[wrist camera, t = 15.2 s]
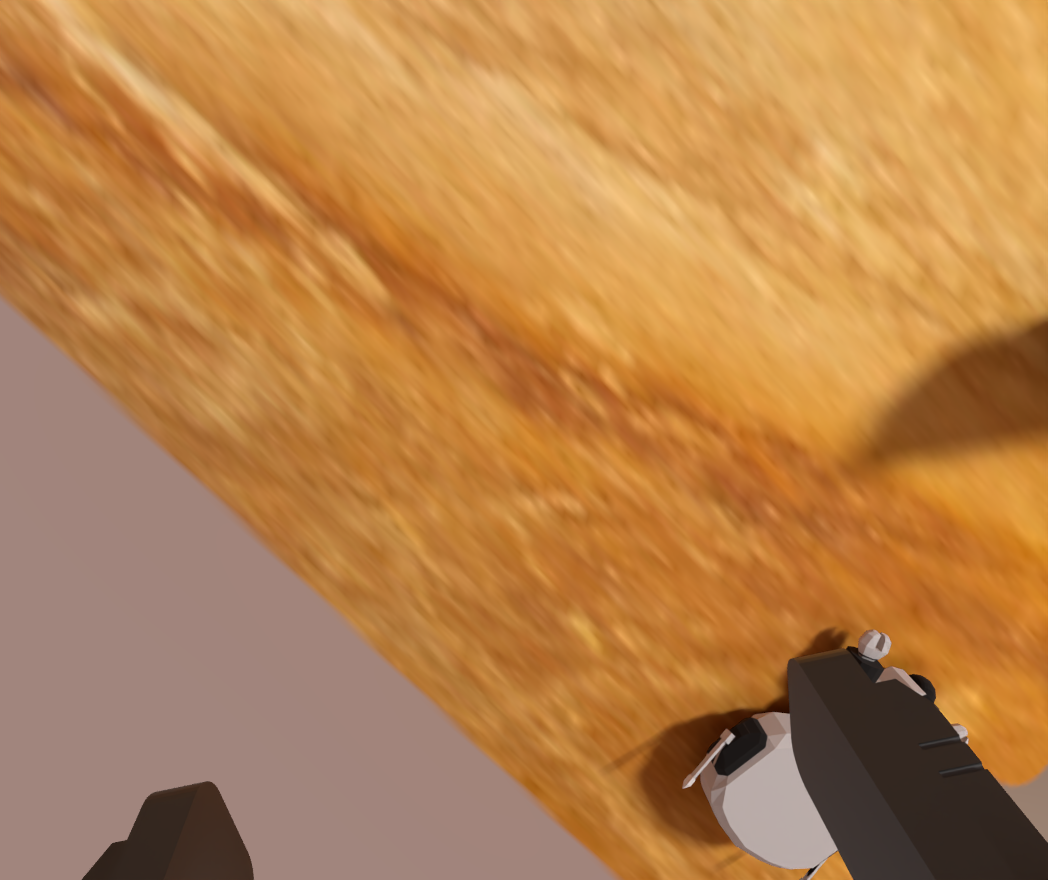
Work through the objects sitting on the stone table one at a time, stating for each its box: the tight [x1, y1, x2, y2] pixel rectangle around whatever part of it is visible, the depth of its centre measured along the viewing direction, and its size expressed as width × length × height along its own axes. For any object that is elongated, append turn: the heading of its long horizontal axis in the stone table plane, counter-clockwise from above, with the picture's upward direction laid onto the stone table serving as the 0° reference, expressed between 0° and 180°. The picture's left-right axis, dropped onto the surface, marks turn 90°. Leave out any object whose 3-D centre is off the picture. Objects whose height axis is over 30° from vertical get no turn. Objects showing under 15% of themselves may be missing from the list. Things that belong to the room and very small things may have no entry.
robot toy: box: [682, 630, 968, 880], centre depth 46 cm, size 12×4×15 cm
